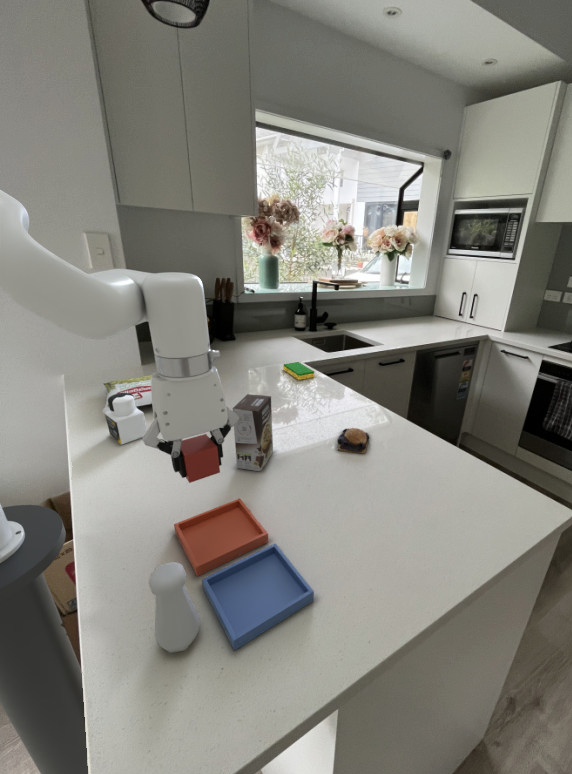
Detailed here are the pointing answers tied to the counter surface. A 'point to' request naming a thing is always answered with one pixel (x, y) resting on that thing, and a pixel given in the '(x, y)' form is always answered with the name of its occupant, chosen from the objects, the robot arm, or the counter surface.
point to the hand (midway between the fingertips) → (199, 466)
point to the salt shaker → (173, 608)
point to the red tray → (219, 535)
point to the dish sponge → (298, 370)
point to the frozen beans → (131, 390)
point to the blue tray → (256, 594)
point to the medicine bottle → (125, 418)
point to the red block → (200, 457)
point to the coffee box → (253, 432)
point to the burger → (353, 440)
